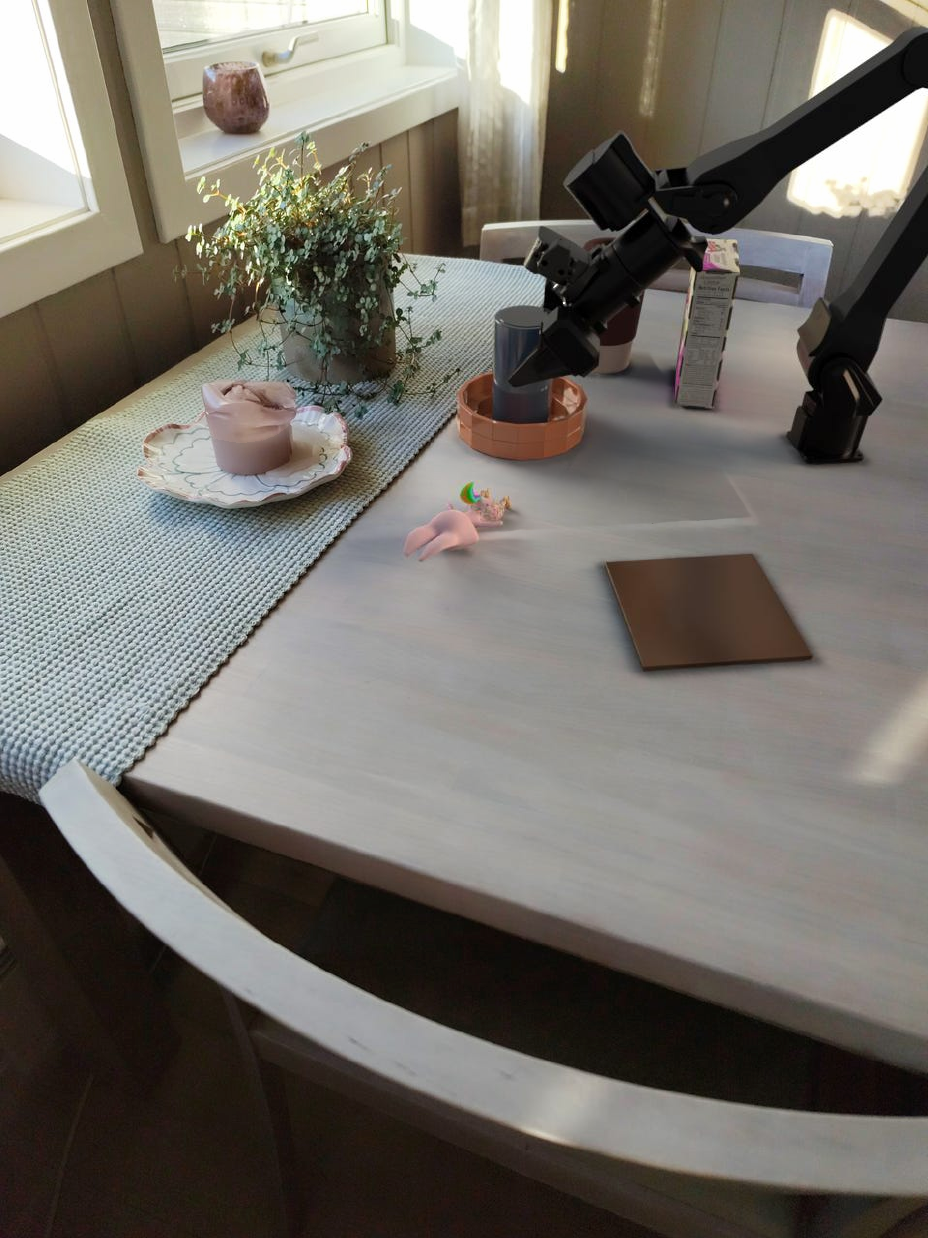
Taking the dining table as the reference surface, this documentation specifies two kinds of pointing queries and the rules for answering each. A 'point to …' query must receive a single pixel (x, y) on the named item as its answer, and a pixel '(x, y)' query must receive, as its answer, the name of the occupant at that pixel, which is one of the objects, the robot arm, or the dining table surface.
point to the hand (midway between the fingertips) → (513, 365)
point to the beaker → (511, 347)
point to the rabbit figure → (457, 524)
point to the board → (704, 612)
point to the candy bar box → (706, 325)
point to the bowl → (521, 437)
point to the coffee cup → (616, 329)
